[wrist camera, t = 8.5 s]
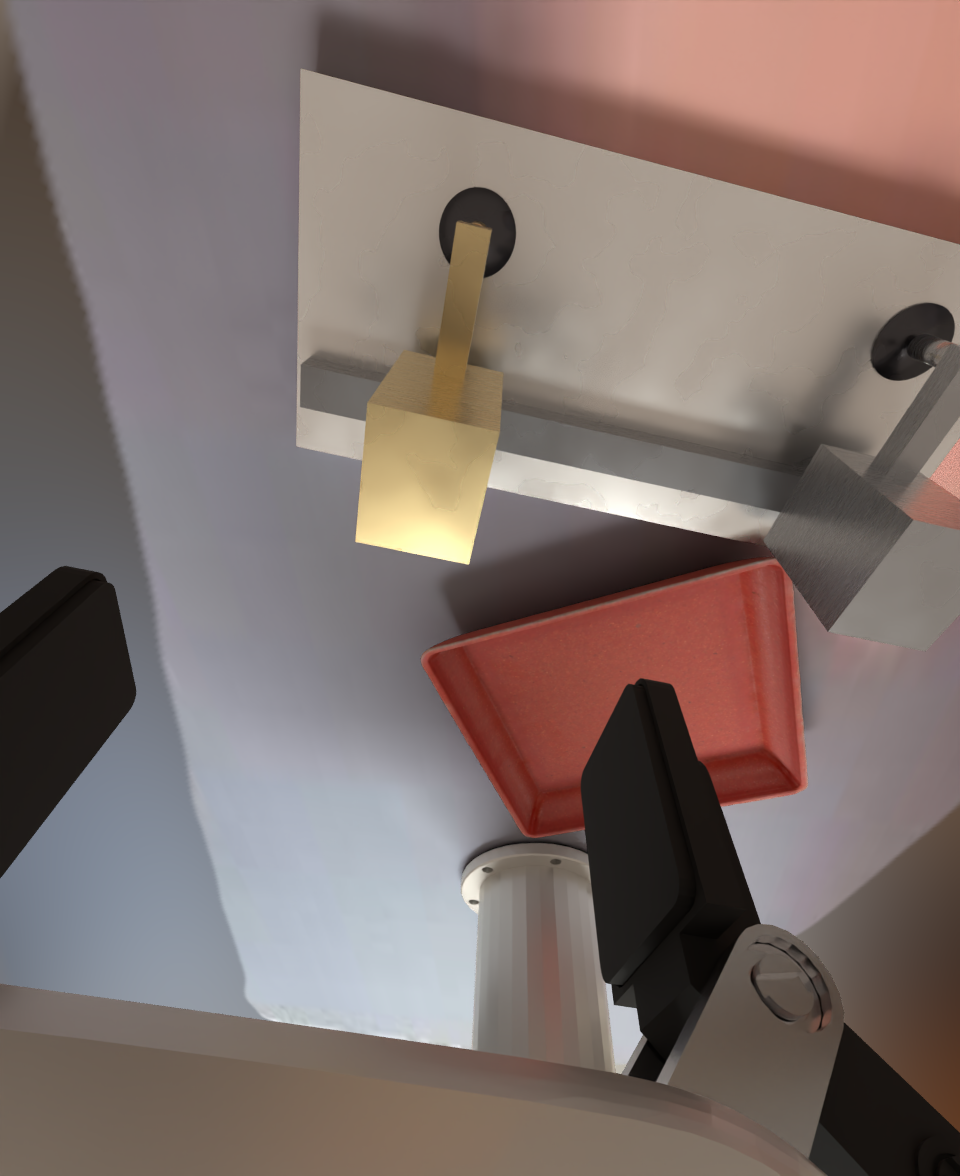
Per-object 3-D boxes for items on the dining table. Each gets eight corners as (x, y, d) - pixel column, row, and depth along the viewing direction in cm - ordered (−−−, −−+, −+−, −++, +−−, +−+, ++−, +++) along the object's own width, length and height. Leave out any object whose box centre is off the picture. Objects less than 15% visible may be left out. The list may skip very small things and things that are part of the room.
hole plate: (847, 550, 27) (966, 679, 20) (306, 433, 25) (224, 531, 18) (1045, 271, 20) (1340, 316, 13) (315, 76, 18) (183, 1, 11)
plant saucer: (765, 518, 26) (793, 556, 24) (789, 750, 36) (811, 795, 33) (422, 614, 31) (413, 655, 28) (524, 797, 40) (525, 840, 38)
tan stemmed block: (480, 472, 23) (468, 564, 17) (394, 454, 23) (355, 541, 17) (532, 234, 18) (541, 254, 12) (425, 207, 18) (383, 215, 12)
